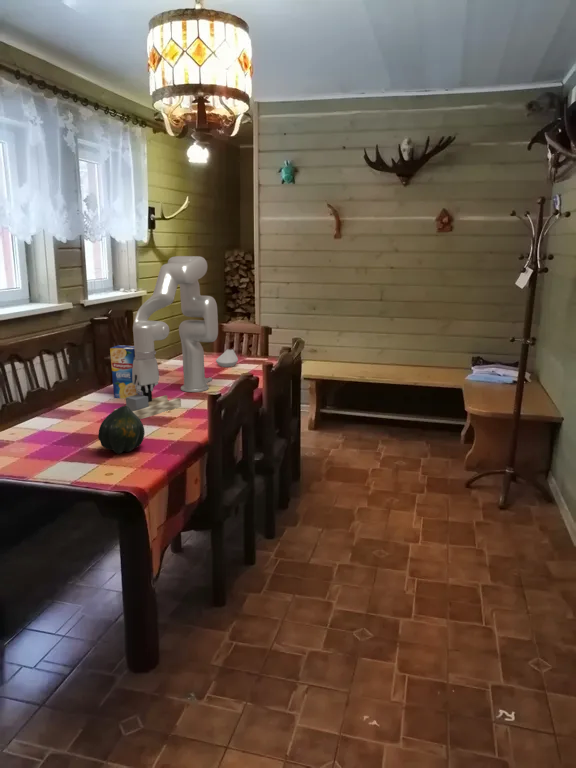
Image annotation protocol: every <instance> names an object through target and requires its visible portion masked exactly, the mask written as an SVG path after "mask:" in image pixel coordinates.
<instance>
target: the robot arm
mask: <svg viewBox="0 0 576 768" xmlns="http://www.w3.org/2000/svg"><path fill="white" fill-rule="evenodd" d="M207 271H208V261H207V260H206V259H205V258H204V257H203V256H199V255H198V256H197V255H195V256H193V255H189V256H188V255H177V256H171V257H170V258H169V259H168V260H167V263H163V265H161V267H160V269H159V272H158V276H157V278H156V279H157V280H156V283H155V286H154V289H153V293H152V295H151V296H150V297H149V298H147V300H146V301H144V302H143V303H142V304H141V306H140V307H139V308H138V310H137V311H136V314H135V318H134V321H133V324H132V332H133V333H132V334H133V335H132V336H133V344H134V345H133V346H134V349H135V360H134V361H133V368H132V380H133V384H134V385H135V389H140V390H141V391H142V392H143V396H148V402H151V401H152V399H153V395H152V394H153V393H152V392H153V391H154V388H155V387H156V386H158V384H159V380H160V373H159V371H160V370H159V365H158V361H157V358H156V356H155V355H156V354H157V351H156V350H155V341H163V340H165V339H166V338H168V336H169V335H170V327H169V325H168V324H167V323H166V322H164V321H161V320H149V318H150V317H151V316H152V315H153V314H154V313H155V312H157V311H158V310H161V309H165V308H166V307H168V306H171V304H173V303H174V302H175V301H174V300H175V296H176V293H177V289H178V286H179V292H180V305H181V306H180V307H181V313H182V314H183V316H185V317H190V318H203V320H200V319H186V320H183V321H181V323H180V324H179V326H178V334H179V337H180V342H181V343H180V344H181V351H182V369H183V370H182V371H183V374H182V375H183V385H181V386H180V390H181V391H183V392H187V393H198V392H199V393H200V392H205V391H207V390H209V388H210V387H209V386H210V385H208V383H210V382H213V378H212V377H210V376H209V377H205V376H206V374H205V372H206V371H205V352H204V347H203V346H202V344H201V343H213V342H215V341H216V340H217V338H218V335H219V320H218V319H219V316H218V304H217V302H216V299H215V298H214V297H213V296H211V295H201V287H200V283H199V279H202V278H203V277H204V276H205V275H206V274H207Z"/></svg>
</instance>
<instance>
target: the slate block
mask: <svg viewBox="0 0 576 768" xmlns="http://www.w3.org/2000/svg"><path fill="white" fill-rule="evenodd" d="M125 406H127V407H129V408H130V410H131V411H132V412H133V411H136V410H140V409H143V408H146V407H149V403H148V396H143V395H139V394H137V395H133V396H130V397H126V399H125Z"/></svg>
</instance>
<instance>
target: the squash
mask: <svg viewBox="0 0 576 768" xmlns="http://www.w3.org/2000/svg"><path fill="white" fill-rule="evenodd" d="M115 409H116V410H115V411H114V410H113V411H112V412H110V413H109V414H108V415H107V416H106V417H105V418H104V419H103V420H102V422H101V423H100V426H99V429H98V436H97V437H98V441H99V442H100V445H101V446H102V447H103V448H104V449H107V450H113V452H114V453H115V454H118V455H119V454H123V452H126V453H127V452H128V453H129V452H131V451H133V450H134V449H135V448H136V449H137V448H138V447H140V446H141V444H142V443H143V440H144V438H145V434H146V433H145V428H144V425H143V423H142V419H139V418H138V417H137V416H136V415H135V414H134V413H133V412H132V411H131V410H130V408H129V407H127V406H126V405H123V406H120V407H118V408H115Z"/></svg>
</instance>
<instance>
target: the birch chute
mask: <svg viewBox="0 0 576 768" xmlns="http://www.w3.org/2000/svg"><path fill="white" fill-rule="evenodd" d="M148 403H149V407H146V408H143V409H140V410H136V411H133V413H134V414H135V415H136V416H137V417H138V418H139V419H140V420H143V419H145V418H150V417H152V416H155V415H159V414H162V412H163V413H165V411H166V412H169V411H172V410H175V408H176V409H179V408H181V407H182V400H181V398H180V397H178V398H175V399H171V400H168V395H166V394H165V395H162V396H158V397H153V398H152V401H151V402H148ZM178 407H179V408H178ZM116 409H117V408H115V409H113V411H115V410H116ZM171 409H172V410H171ZM168 410H169V411H168Z"/></svg>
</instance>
